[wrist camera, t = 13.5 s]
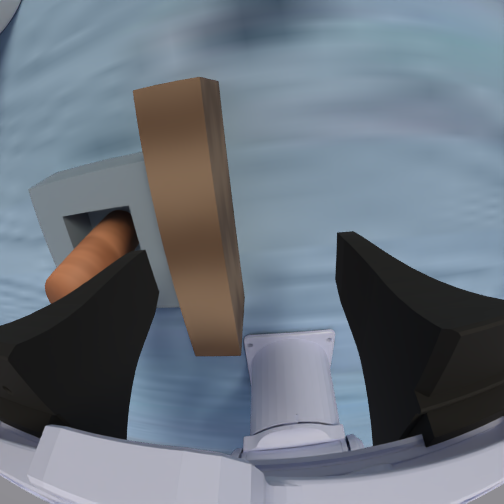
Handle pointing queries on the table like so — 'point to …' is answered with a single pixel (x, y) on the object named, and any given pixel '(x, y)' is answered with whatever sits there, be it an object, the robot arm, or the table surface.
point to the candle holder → (7, 11)
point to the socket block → (102, 211)
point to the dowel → (93, 254)
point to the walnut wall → (194, 208)
